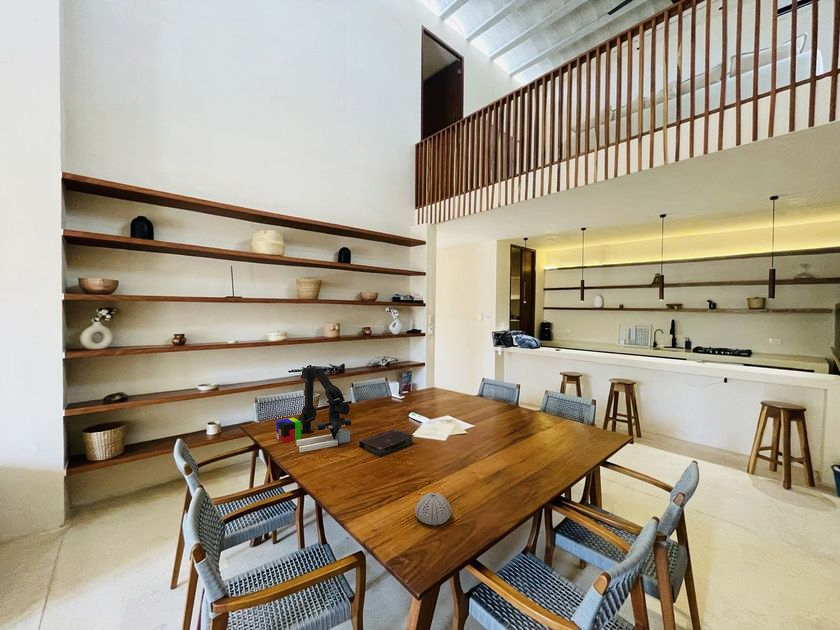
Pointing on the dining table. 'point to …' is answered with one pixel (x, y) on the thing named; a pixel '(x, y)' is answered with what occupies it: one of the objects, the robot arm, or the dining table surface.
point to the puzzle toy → (288, 430)
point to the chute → (316, 445)
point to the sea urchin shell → (433, 509)
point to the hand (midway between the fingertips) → (333, 439)
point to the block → (343, 435)
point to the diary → (386, 442)
